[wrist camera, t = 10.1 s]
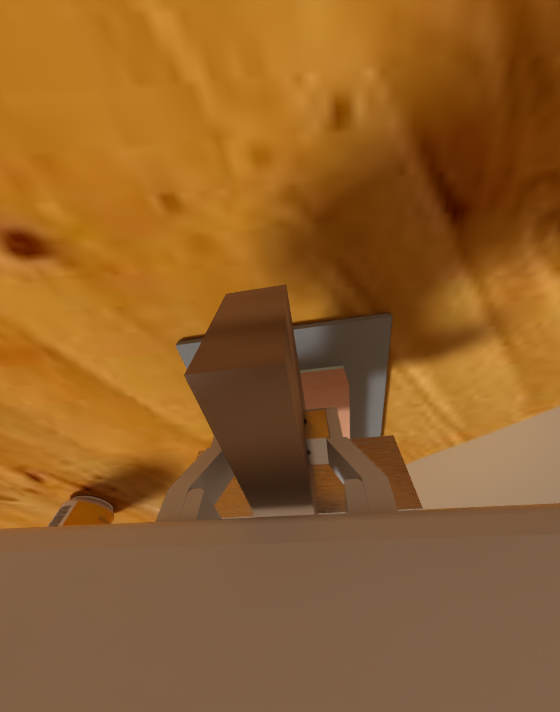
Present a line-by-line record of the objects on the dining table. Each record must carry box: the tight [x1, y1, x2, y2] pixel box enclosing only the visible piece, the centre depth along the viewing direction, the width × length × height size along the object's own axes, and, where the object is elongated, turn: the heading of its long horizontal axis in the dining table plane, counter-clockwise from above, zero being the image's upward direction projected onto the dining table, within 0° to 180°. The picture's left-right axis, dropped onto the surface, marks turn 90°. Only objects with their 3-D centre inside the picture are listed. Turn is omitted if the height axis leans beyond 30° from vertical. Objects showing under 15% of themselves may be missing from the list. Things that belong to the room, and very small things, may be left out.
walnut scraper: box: [184, 285, 423, 519], centre depth 11 cm, size 11×12×5 cm
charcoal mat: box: [176, 313, 392, 439], centre depth 20 cm, size 14×14×1 cm
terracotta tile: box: [300, 365, 350, 439], centre depth 20 cm, size 2×8×10 cm
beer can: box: [48, 496, 114, 527], centre depth 27 cm, size 6×6×15 cm
